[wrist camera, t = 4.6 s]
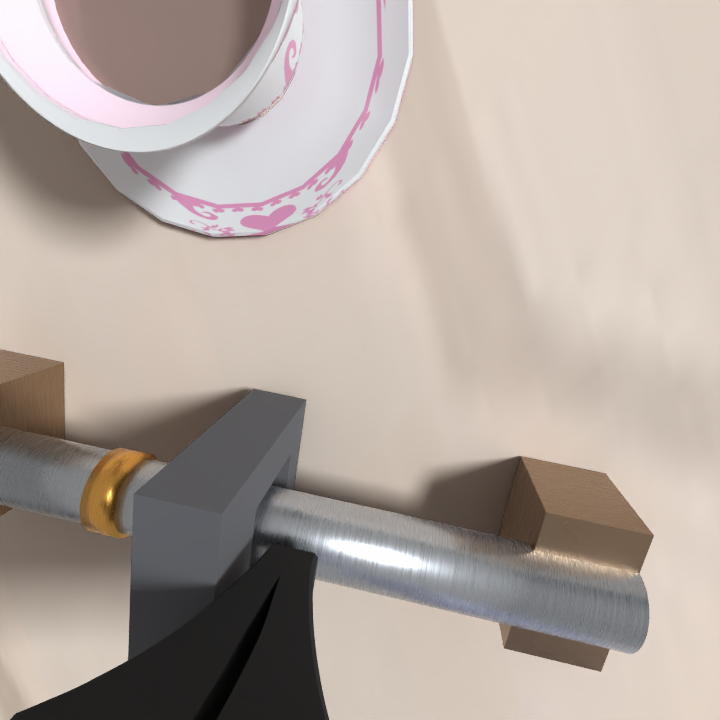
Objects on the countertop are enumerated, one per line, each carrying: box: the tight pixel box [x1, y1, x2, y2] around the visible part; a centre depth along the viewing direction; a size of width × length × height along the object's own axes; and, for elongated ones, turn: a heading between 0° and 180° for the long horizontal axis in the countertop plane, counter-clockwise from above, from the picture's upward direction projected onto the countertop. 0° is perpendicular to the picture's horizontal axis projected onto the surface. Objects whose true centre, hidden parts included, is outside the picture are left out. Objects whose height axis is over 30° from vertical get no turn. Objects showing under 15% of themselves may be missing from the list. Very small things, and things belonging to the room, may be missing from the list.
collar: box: [128, 389, 306, 660], centre depth 14 cm, size 2×6×7 cm, turn 171°
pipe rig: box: [0, 350, 654, 672], centre depth 16 cm, size 24×5×5 cm, turn 81°
